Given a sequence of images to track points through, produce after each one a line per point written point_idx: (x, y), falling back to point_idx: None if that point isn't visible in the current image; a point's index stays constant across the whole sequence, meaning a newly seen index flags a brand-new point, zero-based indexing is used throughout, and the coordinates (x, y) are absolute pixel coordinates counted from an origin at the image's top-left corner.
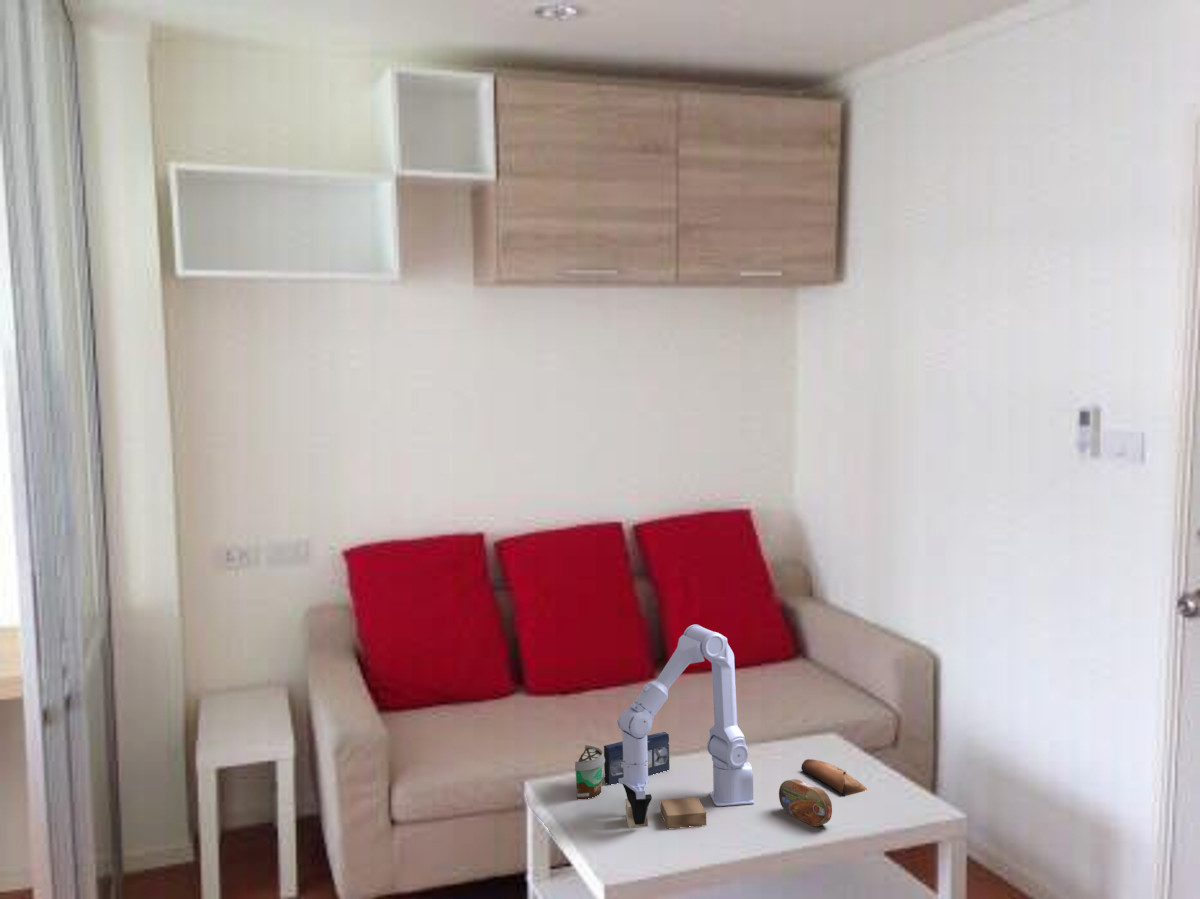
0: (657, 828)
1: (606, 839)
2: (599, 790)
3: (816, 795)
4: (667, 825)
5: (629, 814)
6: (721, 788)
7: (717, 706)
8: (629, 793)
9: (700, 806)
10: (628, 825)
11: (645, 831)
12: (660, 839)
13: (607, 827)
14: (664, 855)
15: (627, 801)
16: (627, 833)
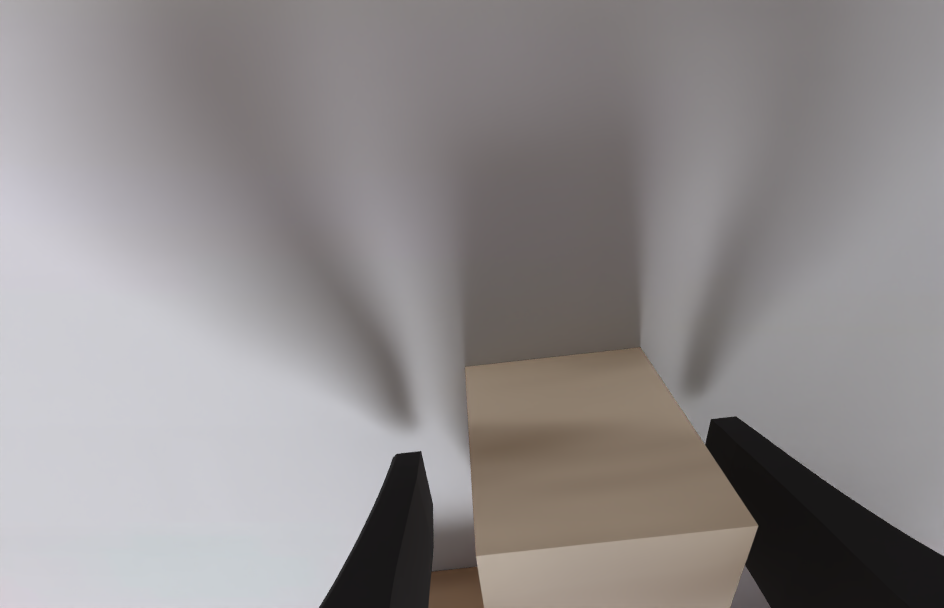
0: (437, 529)
1: (164, 152)
2: None
3: None
4: (447, 585)
5: (472, 473)
6: None
7: None
8: (858, 604)
9: None
10: (484, 372)
11: (387, 470)
12: (261, 542)
13: (486, 170)
14: (12, 559)
15: (669, 545)
16: (342, 356)
